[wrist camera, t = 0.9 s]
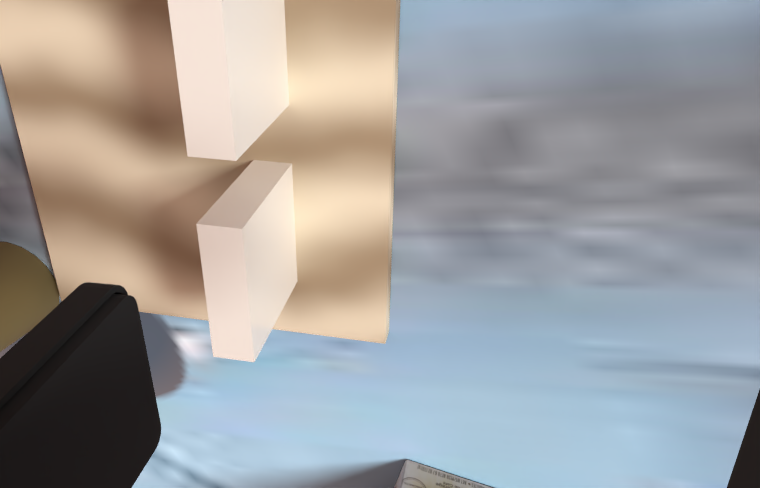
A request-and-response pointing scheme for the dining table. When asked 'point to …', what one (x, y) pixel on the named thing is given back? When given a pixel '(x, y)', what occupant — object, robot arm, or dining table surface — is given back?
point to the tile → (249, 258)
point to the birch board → (203, 175)
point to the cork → (23, 292)
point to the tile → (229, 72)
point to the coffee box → (431, 478)
